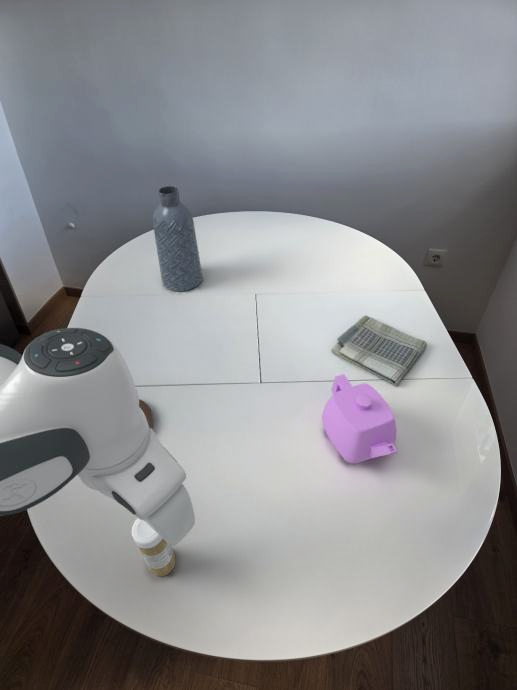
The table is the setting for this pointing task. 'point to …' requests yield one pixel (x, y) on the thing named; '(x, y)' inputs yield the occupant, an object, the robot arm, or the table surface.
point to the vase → (176, 242)
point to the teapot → (358, 421)
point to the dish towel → (379, 349)
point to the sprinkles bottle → (153, 548)
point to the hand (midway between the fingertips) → (139, 505)
